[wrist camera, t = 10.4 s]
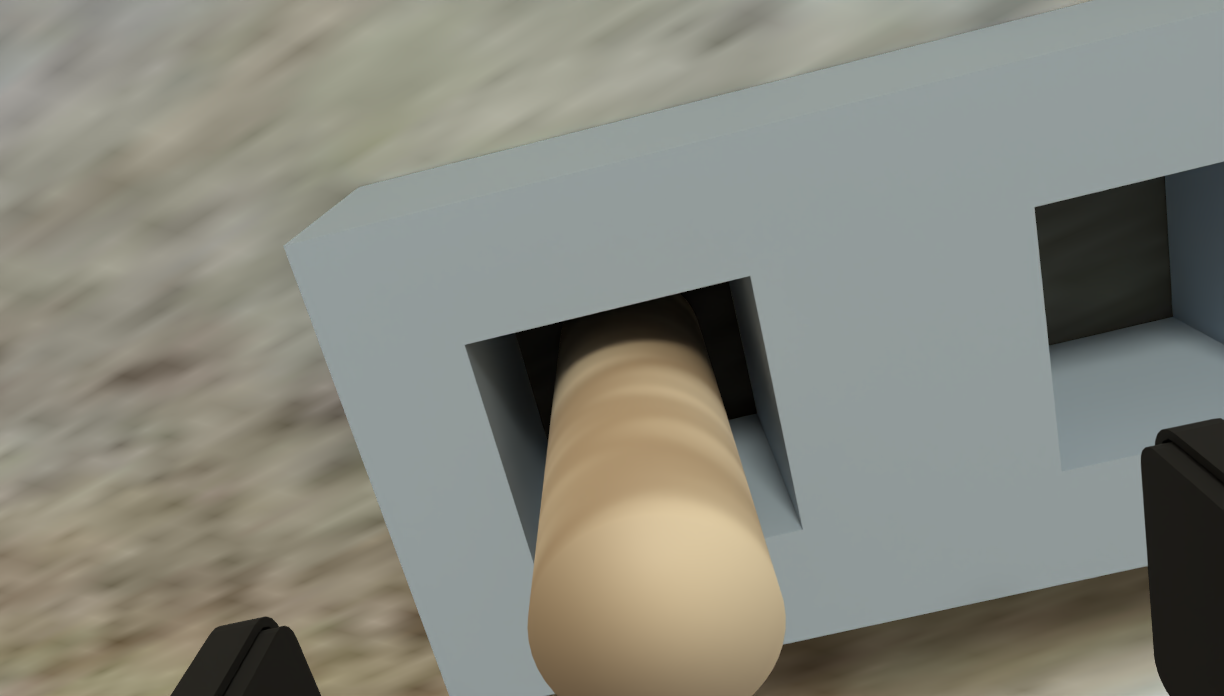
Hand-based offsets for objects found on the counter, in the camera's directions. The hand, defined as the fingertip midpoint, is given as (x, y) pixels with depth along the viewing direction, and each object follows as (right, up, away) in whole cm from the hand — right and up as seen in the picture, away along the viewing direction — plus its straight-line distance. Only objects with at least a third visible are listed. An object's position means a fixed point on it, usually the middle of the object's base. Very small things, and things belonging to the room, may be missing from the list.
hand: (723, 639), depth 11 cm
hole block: (+4, +4, +10) cm, 11 cm away
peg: (-1, +3, +10) cm, 11 cm away
